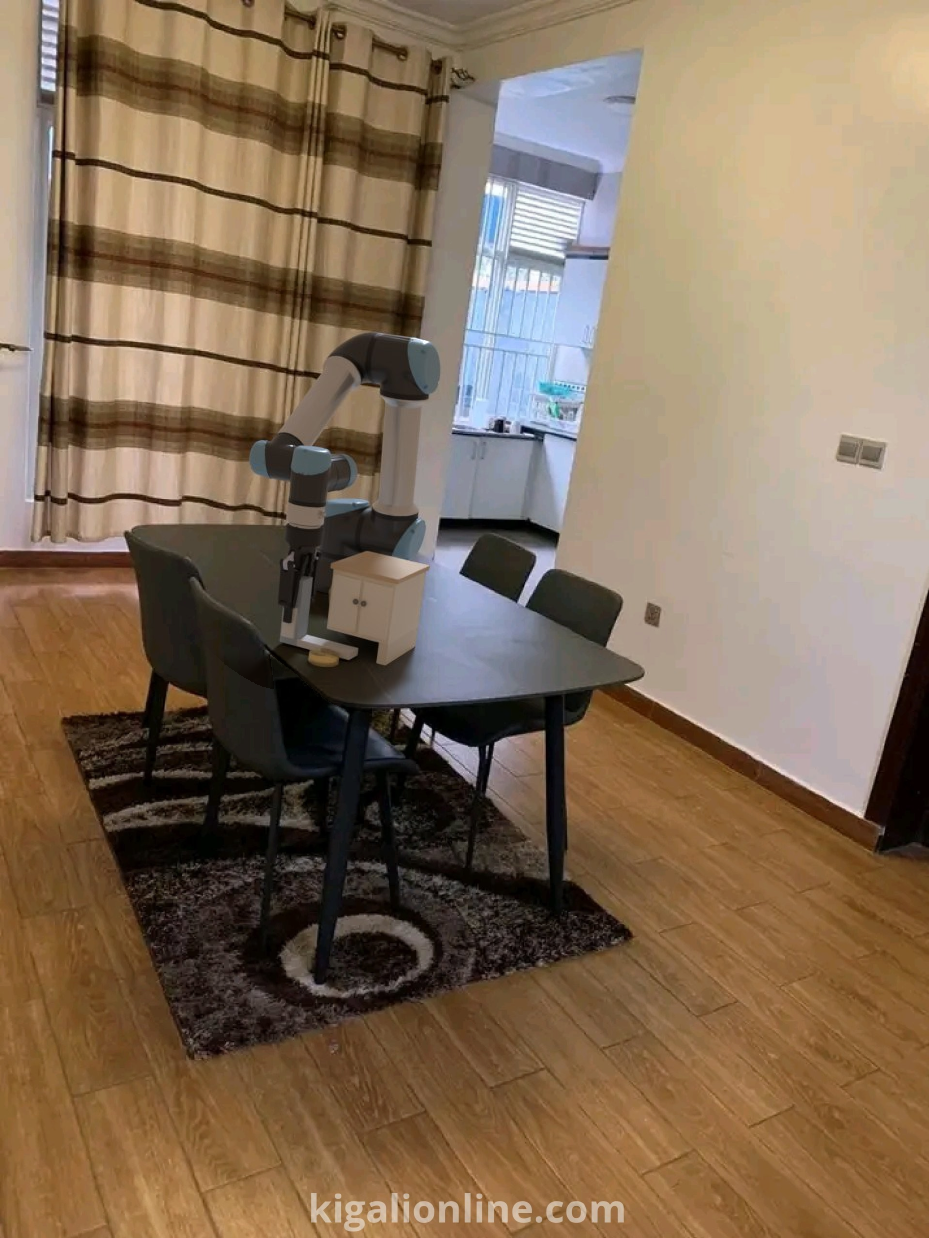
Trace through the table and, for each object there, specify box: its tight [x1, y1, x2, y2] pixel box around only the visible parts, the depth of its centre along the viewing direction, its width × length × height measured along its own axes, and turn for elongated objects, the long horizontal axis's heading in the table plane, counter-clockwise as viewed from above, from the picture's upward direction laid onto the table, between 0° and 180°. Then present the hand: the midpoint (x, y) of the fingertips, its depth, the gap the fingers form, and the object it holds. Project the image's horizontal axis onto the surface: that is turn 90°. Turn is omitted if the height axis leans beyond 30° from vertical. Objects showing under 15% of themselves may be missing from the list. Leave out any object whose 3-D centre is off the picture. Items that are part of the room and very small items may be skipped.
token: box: [308, 648, 340, 668], centre depth 187 cm, size 6×6×2 cm
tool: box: [279, 576, 359, 661], centre depth 191 cm, size 16×4×14 cm, turn 71°
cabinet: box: [326, 551, 431, 666], centre depth 197 cm, size 15×18×18 cm
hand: (293, 633), depth 194 cm, fingers closed on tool, 4 cm apart
